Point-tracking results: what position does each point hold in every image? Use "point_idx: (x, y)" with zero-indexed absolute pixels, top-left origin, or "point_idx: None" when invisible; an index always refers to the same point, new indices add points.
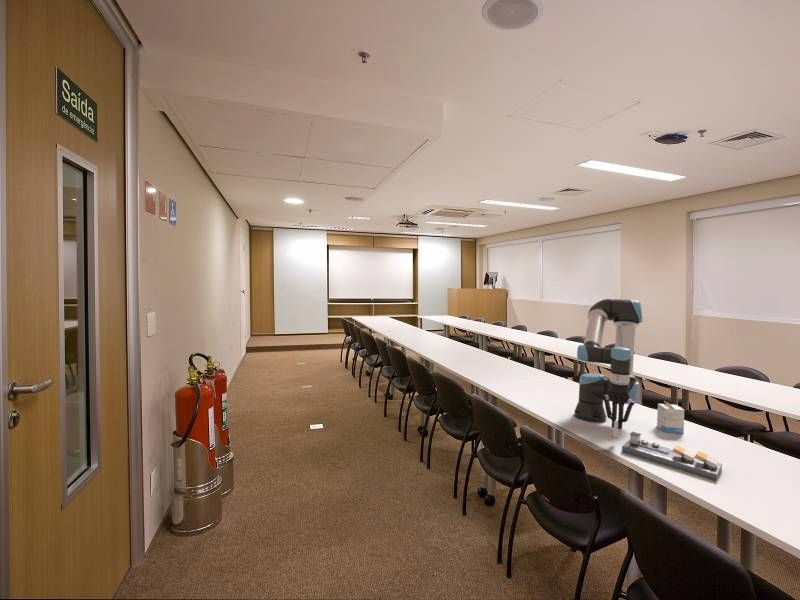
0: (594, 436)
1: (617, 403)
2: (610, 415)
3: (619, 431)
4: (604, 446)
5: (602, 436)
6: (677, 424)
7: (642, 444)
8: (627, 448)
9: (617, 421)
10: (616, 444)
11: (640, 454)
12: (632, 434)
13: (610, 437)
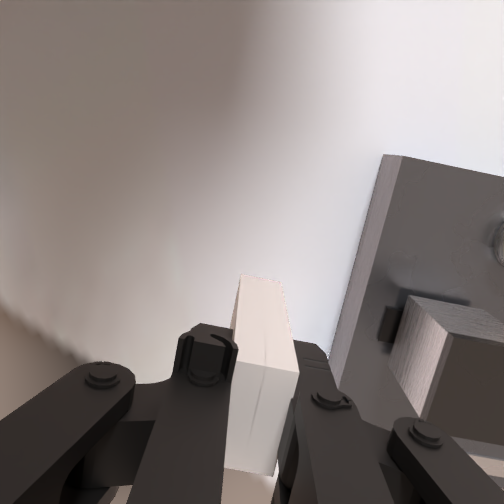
0: (44, 195)
1: None
2: (102, 467)
3: (284, 299)
4: None
5: (108, 138)
6: None
7: (501, 293)
8: None
9: (259, 435)
10: (258, 277)
11: None
12: (448, 434)
13: (183, 112)
